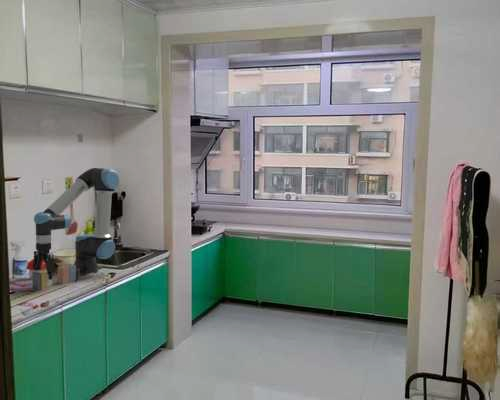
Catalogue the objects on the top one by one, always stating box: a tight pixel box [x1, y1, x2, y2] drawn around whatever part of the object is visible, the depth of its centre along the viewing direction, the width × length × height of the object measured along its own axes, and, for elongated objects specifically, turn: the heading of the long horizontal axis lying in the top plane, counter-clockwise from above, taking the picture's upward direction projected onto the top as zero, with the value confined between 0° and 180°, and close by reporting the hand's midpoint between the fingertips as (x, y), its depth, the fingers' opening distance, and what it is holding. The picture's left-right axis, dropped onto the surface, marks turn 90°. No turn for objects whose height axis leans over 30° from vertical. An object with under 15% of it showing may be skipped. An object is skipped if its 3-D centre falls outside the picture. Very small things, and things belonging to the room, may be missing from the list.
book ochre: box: [37, 269, 51, 290], centre depth 252 cm, size 4×5×9 cm
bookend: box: [27, 272, 41, 292], centre depth 247 cm, size 4×5×9 cm
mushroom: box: [25, 259, 46, 280], centre depth 272 cm, size 11×11×12 cm
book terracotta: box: [57, 265, 71, 285], centre depth 262 cm, size 4×5×9 cm
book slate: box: [63, 263, 77, 283], centre depth 266 cm, size 4×5×9 cm
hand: (43, 283), depth 252 cm, fingers open, 9 cm apart
